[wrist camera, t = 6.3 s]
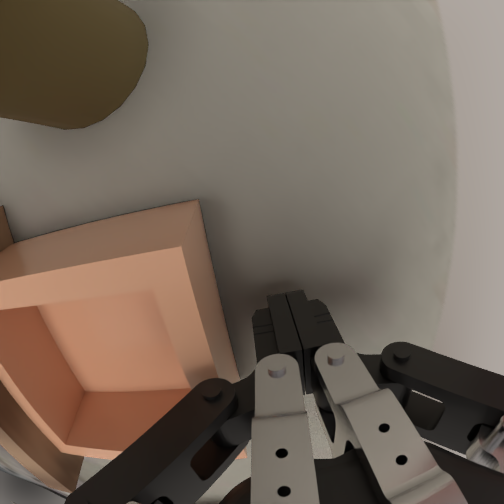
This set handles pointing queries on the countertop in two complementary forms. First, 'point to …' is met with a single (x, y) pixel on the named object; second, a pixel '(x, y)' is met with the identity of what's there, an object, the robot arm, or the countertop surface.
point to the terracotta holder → (111, 326)
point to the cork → (68, 60)
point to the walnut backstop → (33, 428)
